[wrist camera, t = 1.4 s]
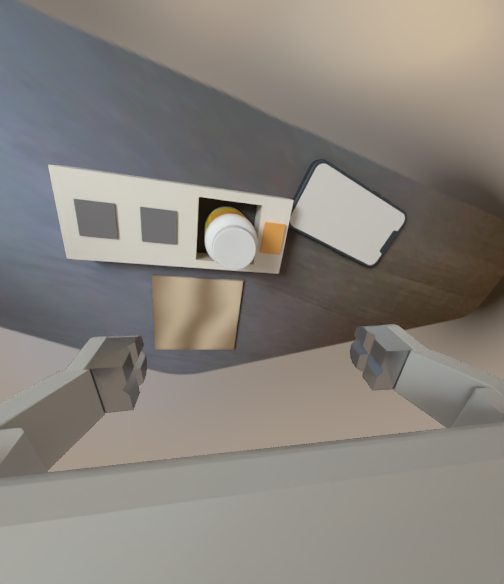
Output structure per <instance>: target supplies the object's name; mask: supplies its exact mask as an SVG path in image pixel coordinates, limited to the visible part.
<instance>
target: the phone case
mask: <svg viewBox="0 0 504 584" xmlns="http://www.w3.org/2000/svg"><path fill="white" fill-rule="evenodd" d="M293 200H294V201H293V206H292V211H291V216H290V221H289V226H288V227H289V228H291V229H293V230H295V231H297V232H299V233H301V234H303V235H305V236H306V237H308V238H310V239H312V240H314V241H316V242H318V243H320V244H322V245H324V246H326V247H328V248H330V249H332V250H333V251H335V252H337V253H339V254H341V255H343V256H346V257H348V258H350V259H352V260H354V261H356V262H358V263H360V264H362V265H364V266H366V267H373V266H375V265H376V264H377V263H378V262H379V260H380V259H381V257H382V256H383V254H384V253H385V252H386V250H387V249H388V247H389V246H390V244H391V243H392V242H393V240H394V239H395V237H396V236H397V234H398V233H399V232H400V230H401V229H402V227H403V226H404V224H405V223H406V221H407V214H406V212H405V211H403V210H402V209H400V208H399V207H397V206H395V205H394V204H392V203H391V202H390V201H389V200H387V199H386V198H384V197H382V196H381V195H380V194H378V193H377V192H375V191H372V190H371V189H369V188H368V187H366V186H365V185H363V184H362V183H360V182H359V181H357V180H356V179H354V178H352V177H351V176H349V175H348V174H346V173H345V172H343V171H342V170H340V169H339V168H337V167H336V166H334V165H333V164H331V163H329V162H328V161H326V160H323V159H320V160H316V161H314V162H313V163H312V164H311V165H310V167H309V169H308V171H307V173H306V175H305V177H304V179H303V181H302V183H301V185H300V187H299V189H298V191H297V193H296V195H295V196H294V198H293Z"/></svg>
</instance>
